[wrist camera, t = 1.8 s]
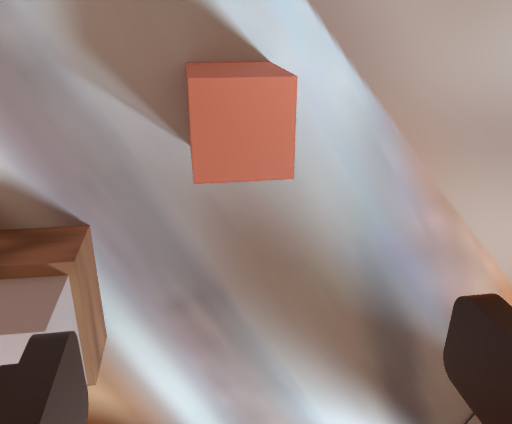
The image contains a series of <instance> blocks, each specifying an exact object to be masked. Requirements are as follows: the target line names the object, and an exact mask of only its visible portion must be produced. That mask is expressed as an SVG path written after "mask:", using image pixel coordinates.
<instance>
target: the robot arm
mask: <svg viewBox="0 0 512 424" xmlns="http://www.w3.org/2000/svg"><path fill="white" fill-rule="evenodd" d="M443 359H444V366H445V369H446V372H447V375H448V377H449V379H450V381H451V382H452V384H453V385H454V386H455V388H456V389H457V390H458V392H459V393H460V394H461V396H462V397H463V399H464V400H465V401H466V403H467V404H468V405H469V407H470V408H471V409H472V411H473V412H474V414H475V415H474V416H473V417H472V418H471V419H470V420H469V422H468V423H467V424H512V306H510V305H509V304H508V303H507V302H506V301H505V300H504V299H503V298H501V297H500V296H499V295H497V294H482V295H471V296H461V297H459V298H457V300H456V301H455V303H454V306H453V311H452V316H451V320H450V325H449V329H448V334H447V338H446V343H445V347H444V353H443ZM87 418H88V390H87V384H86V379H85V374H84V369H83V363H82V358H81V353H80V348H79V342H78V338H77V335H76V333H75V331H65V332H54V333H43V334H34V335H32V336H31V337H30V339H29V340H28V343H27V345H26V347H25V349H24V352H23V354H22V356H21V358H20V360H19V363H18V364H8V365H1V366H0V424H87Z"/></svg>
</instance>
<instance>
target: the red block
mask: <svg viewBox="0 0 512 424" xmlns="http://www.w3.org/2000/svg"><path fill="white" fill-rule="evenodd" d="M186 76H187V93H188V111H189V128H190V146H191V158H192V169H193V181H194V184H203V183H223V182H242V181H262V180H282V179H294V153H295V126H296V98H297V76H296V75H294V74H292V73H290V72H288V71H286V70H285V69H283V68H281V67H279V66H277V65H275V64H273V63H272V62H206V63H186Z"/></svg>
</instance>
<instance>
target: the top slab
mask: <svg viewBox="0 0 512 424" xmlns="http://www.w3.org/2000/svg"><path fill="white" fill-rule="evenodd" d="M65 331H75V333H76V335H77V338H78V342H79V348H80V353H81V358H82V363H83V369H84V374H85V379H86V373H85V367H84V361H83V356H82V350H81V344H80V338H79V332H78V327H77V321H76V315H75V309H74V304H73V298H72V292H71V286H70V280H69V275H64V276H48V277H32V278H17V279H1V280H0V366H1V365H8V364H18V363H19V360H20V358H21V356H22V354H23V352H24V349H25V347H26V345H27V343H28V340H29V339H30V337H31V336H32V335H34V334H43V333H54V332H65ZM86 384H87V379H86Z"/></svg>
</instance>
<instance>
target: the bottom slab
mask: <svg viewBox="0 0 512 424" xmlns="http://www.w3.org/2000/svg"><path fill="white" fill-rule="evenodd" d="M64 275H69V280H70V286H71V292H72V298H73V304H74V309H75V315H76V321H77V327H78V332H79V338H80V344H81V350H82V356H83V361H84V367H85V373H86V379H87V386H91V385H96V382H97V377H98V373H99V368H100V364H101V360H102V355H103V351H104V346H105V342H106V338H107V335H106V329H105V322H104V316H103V309H102V303H101V296H100V290H99V283H98V277H97V270H96V264H95V257H94V251H93V244H92V238H91V231H90V225H87V226H69V227H51V228H33V229H15V230H0V280H1V279H17V278H32V277H48V276H64Z"/></svg>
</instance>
